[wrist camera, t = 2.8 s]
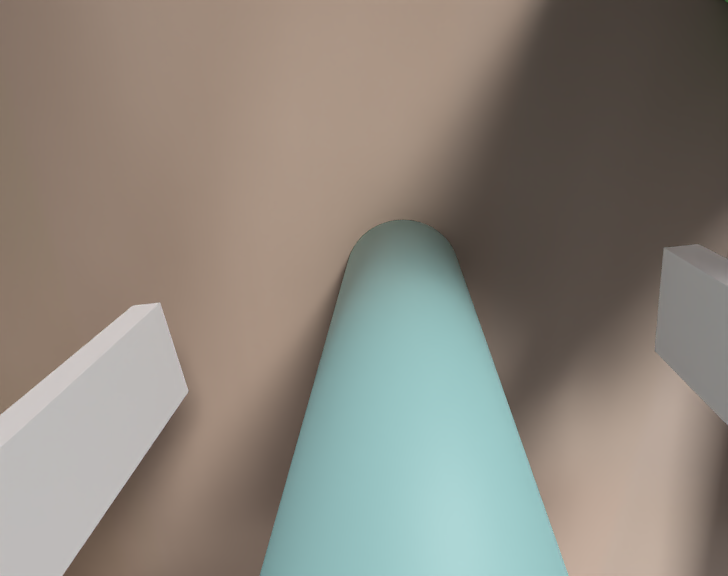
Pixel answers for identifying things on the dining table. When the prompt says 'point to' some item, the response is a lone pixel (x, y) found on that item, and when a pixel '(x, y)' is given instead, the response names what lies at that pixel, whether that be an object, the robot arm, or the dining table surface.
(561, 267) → the dining table surface
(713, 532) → the dining table surface
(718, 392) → the robot arm
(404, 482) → the peg
